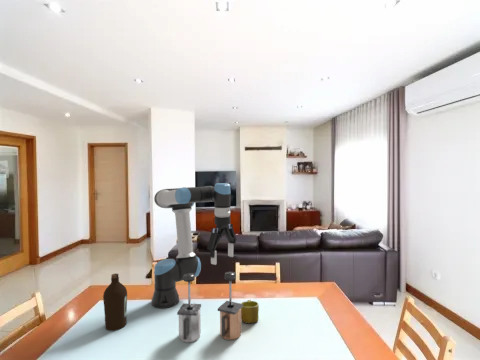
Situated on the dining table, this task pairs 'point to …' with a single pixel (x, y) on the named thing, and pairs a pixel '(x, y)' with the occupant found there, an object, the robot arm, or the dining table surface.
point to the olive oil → (115, 304)
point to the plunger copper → (230, 285)
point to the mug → (249, 311)
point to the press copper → (230, 320)
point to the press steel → (189, 323)
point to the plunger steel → (189, 278)
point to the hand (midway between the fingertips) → (222, 260)
